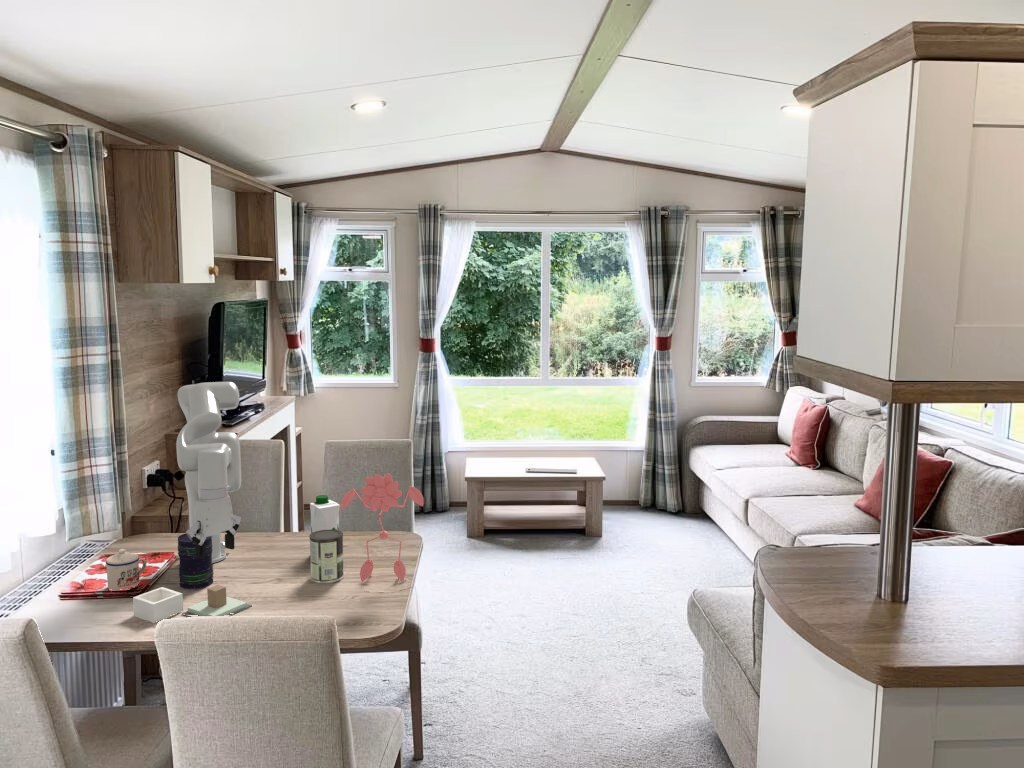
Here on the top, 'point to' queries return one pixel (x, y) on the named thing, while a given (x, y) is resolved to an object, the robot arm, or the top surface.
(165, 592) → the white open box
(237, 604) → the lid
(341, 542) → the coffee can
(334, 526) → the milk carton
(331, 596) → the top surface
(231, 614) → the mat
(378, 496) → the figurine
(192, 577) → the storage jar
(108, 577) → the teacup with lid
